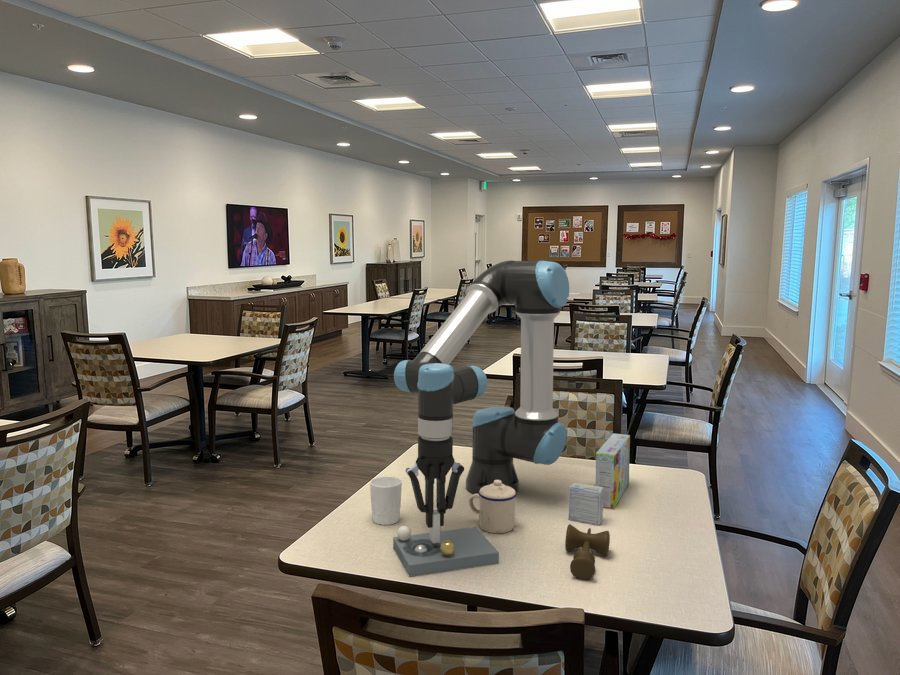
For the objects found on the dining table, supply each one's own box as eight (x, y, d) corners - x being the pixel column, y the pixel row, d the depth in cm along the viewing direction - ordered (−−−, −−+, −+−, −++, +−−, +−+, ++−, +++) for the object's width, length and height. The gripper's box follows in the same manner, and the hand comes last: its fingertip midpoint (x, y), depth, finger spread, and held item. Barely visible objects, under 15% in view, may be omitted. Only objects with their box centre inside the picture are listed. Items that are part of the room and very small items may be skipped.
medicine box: (603, 519, 165) (604, 486, 164) (599, 526, 161) (600, 492, 160) (572, 514, 168) (573, 481, 167) (567, 520, 164) (568, 487, 163)
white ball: (409, 536, 148) (409, 522, 148) (412, 542, 145) (412, 528, 145) (395, 537, 147) (395, 524, 147) (398, 543, 144) (398, 530, 144)
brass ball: (452, 550, 141) (452, 536, 141) (457, 557, 138) (457, 543, 138) (438, 552, 140) (438, 538, 140) (442, 559, 137) (442, 545, 137)
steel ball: (428, 545, 145) (416, 539, 144) (432, 551, 142) (420, 546, 141) (420, 558, 145) (409, 552, 143) (424, 564, 142) (412, 558, 140)
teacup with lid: (520, 523, 162) (521, 478, 161) (507, 537, 154) (508, 489, 153) (476, 514, 168) (477, 470, 166) (461, 527, 160) (462, 481, 158)
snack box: (610, 482, 193) (612, 432, 191) (629, 485, 190) (632, 434, 188) (593, 506, 174) (595, 451, 172) (614, 510, 171) (616, 454, 169)
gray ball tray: (475, 536, 154) (475, 526, 154) (498, 563, 141) (498, 552, 141) (393, 547, 148) (393, 537, 148) (409, 576, 135) (409, 565, 135)
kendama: (557, 579, 135) (568, 537, 154) (605, 588, 133) (609, 543, 152) (559, 552, 134) (569, 513, 153) (607, 560, 132) (611, 519, 151)
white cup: (396, 527, 159) (396, 488, 158) (365, 524, 161) (365, 485, 159) (405, 515, 167) (405, 477, 166) (375, 512, 168) (375, 475, 167)
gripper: (458, 429, 146) (457, 529, 149) (401, 433, 142) (401, 537, 145) (469, 438, 139) (468, 543, 142) (410, 443, 135) (410, 551, 138)
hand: (434, 540), depth 143 cm, fingers closed
